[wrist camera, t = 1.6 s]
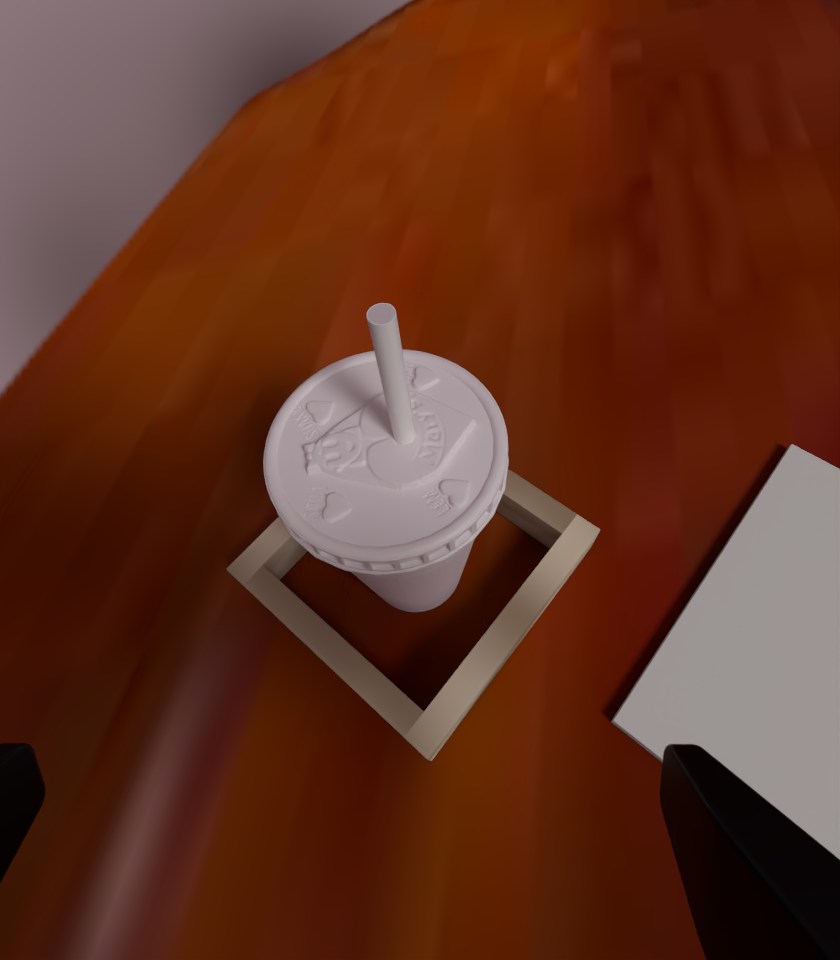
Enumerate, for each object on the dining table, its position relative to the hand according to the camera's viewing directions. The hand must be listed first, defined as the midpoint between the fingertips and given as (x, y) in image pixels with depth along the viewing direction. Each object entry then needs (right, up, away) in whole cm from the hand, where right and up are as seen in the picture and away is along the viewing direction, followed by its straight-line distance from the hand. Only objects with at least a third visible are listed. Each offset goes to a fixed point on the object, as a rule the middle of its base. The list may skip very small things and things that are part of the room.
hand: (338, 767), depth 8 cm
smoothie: (+1, 0, +15) cm, 15 cm away
